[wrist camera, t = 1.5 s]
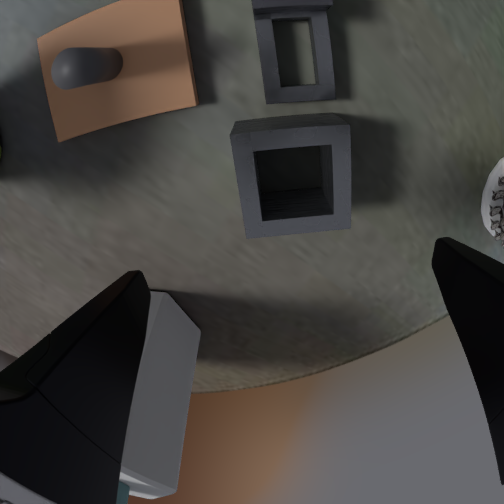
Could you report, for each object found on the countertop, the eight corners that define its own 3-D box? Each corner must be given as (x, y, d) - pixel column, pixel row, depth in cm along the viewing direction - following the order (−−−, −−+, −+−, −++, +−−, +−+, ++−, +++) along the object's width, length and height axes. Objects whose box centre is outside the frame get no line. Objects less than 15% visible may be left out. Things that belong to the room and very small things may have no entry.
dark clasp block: (312, -42, 12) (321, -57, 9) (331, 97, 17) (343, 103, 15) (245, -38, 12) (242, -54, 10) (266, 102, 17) (267, 108, 15)
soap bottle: (111, 348, 31) (55, 538, 12) (87, 283, 26) (-14, 514, 7) (204, 359, 31) (179, 575, 12) (197, 291, 26) (148, 583, 7)
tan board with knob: (180, -13, 13) (152, -37, 9) (199, 103, 18) (177, 118, 13) (45, 38, 14) (-7, 42, 9) (66, 138, 18) (19, 164, 14)
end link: (332, 112, 18) (349, 124, 14) (336, 199, 21) (350, 228, 18) (235, 121, 18) (229, 135, 15) (248, 208, 21) (246, 238, 18)
